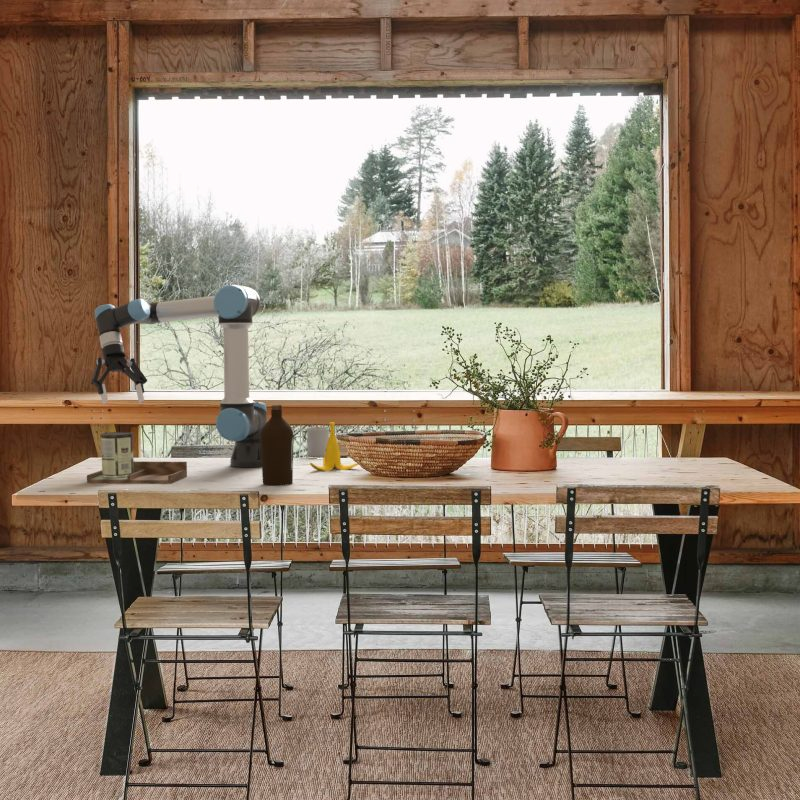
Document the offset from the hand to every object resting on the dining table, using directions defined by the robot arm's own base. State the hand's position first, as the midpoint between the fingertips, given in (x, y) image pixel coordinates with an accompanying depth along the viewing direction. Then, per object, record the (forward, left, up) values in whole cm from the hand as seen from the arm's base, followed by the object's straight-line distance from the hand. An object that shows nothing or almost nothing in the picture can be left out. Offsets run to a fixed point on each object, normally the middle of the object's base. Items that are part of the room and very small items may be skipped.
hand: (123, 402), depth 343 cm
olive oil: (-61, +27, -24) cm, 71 cm away
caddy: (-12, +20, -24) cm, 34 cm away
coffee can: (-5, +20, -23) cm, 31 cm away
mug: (-61, -48, -24) cm, 81 cm away
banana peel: (-74, -9, -25) cm, 79 cm away
